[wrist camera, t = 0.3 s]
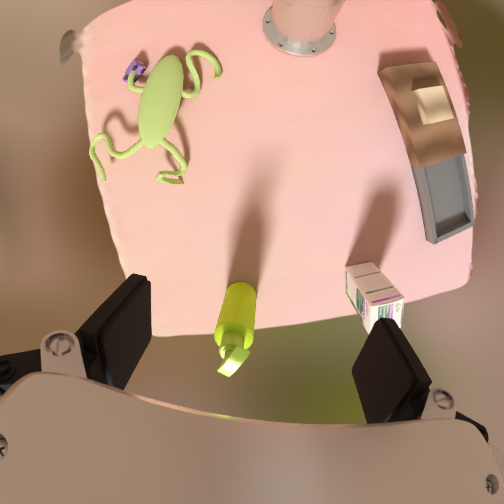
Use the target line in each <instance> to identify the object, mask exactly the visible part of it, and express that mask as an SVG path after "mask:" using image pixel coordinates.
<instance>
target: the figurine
mask: <svg viewBox="0 0 504 504" xmlns="http://www.w3.org/2000/svg"><path fill="white" fill-rule="evenodd" d="M193 55H199V56H202V57H204V58H206V59H207V60H209V61H210V62H211V63H212V65H213V66H214V69H215V77H214V78H213V79H212V80H216V79H218V78H219V77H220V76H221V66H220V64H219V62H218V60H217V59H216V58H215V57H214V56H213V55H211V54H210V53H208V52H206V51H204V50H199V49H194V50H191V51H189V52H188V54H187V55H186V57H185V59H186V64H187V66H188V68H189V70H190V72H191V74H192V76H193V80H194V84H195V86H194V90H193V91H191V92H188V91H184V90H183V79H184V74H183V67H182V63H181V61H180V60H179V58H178V57H177V56H175V55H168V56H165V57H164V58H163V59H162V60H160V61H159V62H158V63H157V64H156V66H155V67H154V69H153V70H152V72H151V73H150V75H149V77H148V79H147V82H146V84H145V86H144V87H137V86H135V84H134V83H135V82H136V81H137V77H138V76H139V75H140V74H141V73H144V71H145V68H146V67H145V65H144V62H142V61H140V60H137V59H134V60H133V61H132V63H131V64H130V65H129V67H128V68H127V70H126V72H125V75H124V77H123V81H125V82H128V87H129V89H130V90H131V91H133V92H137V93H142V96H141V100H140V104H139V114H138V127H139V134H140V138H141V139H140V140H139V141H138V142H137V143H135V144H134V145H133V146H132V147H130V148H129V149H128V150H126V151H124V152H118V151H116V150H115V149H114V147H113V145H112V142H111V138H110V136H109V134H108V133H106V132H102V133H99V134H98V135H97V136H96V137H95V138H94V139H93V141H92V143H91V146H90V149H89V155H90V157H91V159H92V160H93V161H94V163H95V165H96V167H97V169H98V172H99V175H100V180H102V181H106V175H105V171H104V168H103V166H102V164H101V162H100V160H99V158H98V157H97V155H96V153H95V146H96V144H97V142H98V141H99V140H100V139H101V138H103V139H105V142H106V145H107V149H108V151H109V153H110V154H111V156H113V157H115V158H119V159H124V158H127V157H129V156H130V155H132V154H133V153H134V152H136V151H137V150H138V149H140V148H141V147H142V146H143V145H145V146H147V147H148V148H150V149H151V148H153V147H156V146H158V145H159V144H161V145H162V146H163V147H165V148H166V149H168V150H169V151H170V152H171V153H172V155H173V156H174V157H175V158H176V160H177V161H178V162H179V163H180V165H181V167H180V169H179V170H177V171H160V172H158V174H157V176H156V179H158V180H160V181H161V182H164V183H169V184H184V183H183V182H182V181H181V180H180V179H170V178H166V177H164V175H175V176H180V175H183V174H185V172H186V170H187V167H188V166H187V162H186V160H185V159H184V157H183V156H182V155H181V153H180V152H179V151H178V149H177V148H176V147H175V146H174V145H173V144H171V143H170V142H169V141H167V140H166V136H167V134H168V132H169V130H170V129H171V127H172V125H173V123H174V120H175V117H176V114H177V112H178V109H179V105H180V101H181V97H185V98H193V97H196V96H197V95H198V94H199V92H200V79H199V75H198V73H197V71H196V69H195V68H194V66H193V64H192V63H191V61H190V57H191V56H193Z"/></svg>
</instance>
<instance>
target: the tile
mask: <svg viewBox="0 0 504 504" xmlns="http://www.w3.org/2000/svg"><path fill="white" fill-rule="evenodd" d="M411 92H412V95H413V97H414V100H415V103H416V105H417V108H418V111H419V113H420V116H421V119H422V122H423V124H431V123H435V122H440V121H444V120H448V119H453V118H454V117H453V114H452V111H451V108H450V105H449V102H448V99H447V96H446V94H445V91H444V88H443V86H435V87H428V88H422V89H417V90H414V91H411Z"/></svg>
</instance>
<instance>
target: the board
mask: <svg viewBox="0 0 504 504" xmlns="http://www.w3.org/2000/svg"><path fill="white" fill-rule="evenodd" d="M377 74H378V76H379V78H380V80H381V82H382V85H383V87H384V89H385V92H386V94H387V96H388V99H389V101H390V104H391V106H392V109H393V112H394V114H395V117H396V120H397V123H398V125H399V128H400V131H401V134H402V137H403V140H404V144H405V147H406V150H407V153H408V157H409V160H410V164H411V166H415V167H425V166H428V165H431V164H434V163H437V162H440V161H443V160H446V159H449V158H453V157H456V156H459V155H462V154H465V153H466V149H465V145H464V141H463V137H462V133H461V129H460V126H459V123H458V119H457V116H456V113H455V110H454V107H453V104H452V101H451V98H450V95H449V93H448V90H447V87H446V85H445V82H444V80H443V78H442V75H441V73H440V70H439V68H438V66H437V64H436V62H424V63H414V64H405V65H398V66H391V67H386V68H384V69H383V70H381V71H380V72H378V73H377ZM435 86H443V88H444V91H445V94H446V96H447V99H448V102H449V105H450V108H451V111H452V114H453V117H454V118H453V119H448V120H444V121H440V122H435V123H431V124H423V122H422V119H421V116H420V113H419V111H418V108H417V105H416V103H415V100H414V97H413V95H412V92H411V91H414V90H417V89H422V88H428V87H435Z"/></svg>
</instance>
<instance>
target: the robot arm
mask: <svg viewBox="0 0 504 504" xmlns="http://www.w3.org/2000/svg"><path fill="white" fill-rule="evenodd" d="M344 2H345V0H273V7H272V8H271V9H270V10H268V12H267V13H266V14H265V17H264V19H263V31H264V34H265V36H266V38H267V40H268V41H269V42H270V43H271V44H272V45H273V46H274V47H275V48H277V49H278V50H280V51H282V52H284V53H287V54H289V55H293V56H300V57H310V56H315V55H318V54H321V53H323V52H325V51H326V50H328V49H329V48H330V47H331V45H332V44H333V42H334V40H335V37H336V27H335V24H334V21H335V19H336V17H337V15H338V13H339V11H340V10H341V8H342V6H343V4H344ZM330 33H331V34H330ZM280 45H281V47H280ZM312 51H314V52H312ZM151 336H152V328H151V282H150V281H148V280H147V277H146V276H142V275H138V274H131V275H130V276H129V277H128V278H127V279H126V280H125V281H124V282H123V283H122V284H121V285H120V286H119V287H118V288H117V289H116V290H115V291H114V293H113V294H112V295H111V296H110V297H109V298H108V299H107V300H106V301H104V303H103V304H102V305H101V306H100V307H99V308H98V309H97V310H96V311H95V312H94V313H93V314H92V315H91V316H90V317H89V318H88V320H87V321H86V322H85V323H84V324H83V325H82V326H81V327H80V328H79V329H78V331H77V332H76V333H75V334H73V333H71V332H69V331H64V330H58V331H54V332H51V333H49V334H47V335H46V336H45V337H44V338H43V340H42V342H41V346H40V347H41V349H37V350H31V351H26V352H20V353H14V354H8V355H2V356H0V504H504V453H503V452H502V451H501V450H500V449H499V448H498V447H497V446H496V445H495V444H494V443H493V442H491V441H490V442H489V443H488V433H487V430H486V428H485V427H484V426H482V425H480V424H479V423H477V422H475V421H473V420H472V419H470V418H468V417H466V416H464V415H463V414H461V413H459V412H457V411H456V409H457V401H456V398H455V397H454V395H453V394H452V393H451V392H450V391H449V390H447V389H445V388H443V387H434V388H432V389H431V390H430V389H429V386H430V384H431V383H432V381H431V379H430V377H429V375H428V374H427V372H426V370H425V368H424V367H423V365H422V363H421V362H420V360H419V358H418V357H417V355H416V353H415V352H414V350H413V349H412V347H411V345H410V344H409V342H408V340H407V339H406V337H405V336H404V334H403V332H402V331H401V329H400V328H399V326H398V325H397V323H396V322H395V320H394V319H392V318H384V317H381V318H380V319H379V320H377V321H375V323H374V325H373V327H372V329H371V331H370V333H369V336H368V338H367V340H366V342H365V344H364V346H363V348H362V350H361V352H360V354H359V356H358V358H357V360H356V361H355V363H354V365H353V368H352V375H353V378H354V381H355V384H356V388H357V391H358V394H359V397H360V401H361V404H362V407H363V411H364V414H365V418H366V421H367V424H358V425H357V424H355V425H312V424H291V423H279V422H268V421H259V420H251V419H244V418H237V417H230V416H224V415H219V414H213V413H208V412H203V411H198V410H194V409H189V408H185V407H181V406H177V405H173V404H169V403H165V402H161V401H158V400H154V399H151V398H147V397H144V396H140V395H137V394H134V393H130V392H127V391H124V388H125V386H126V384H127V383H128V381H129V379H130V377H131V375H132V373H133V371H134V370H135V368H136V366H137V364H138V362H139V360H140V358H141V356H142V355H143V353H144V351H145V349H146V348H147V346H148V344H149V342H150V340H151Z"/></svg>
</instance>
